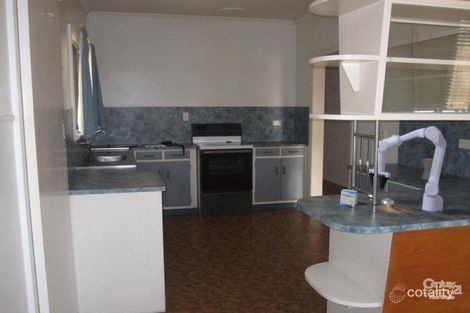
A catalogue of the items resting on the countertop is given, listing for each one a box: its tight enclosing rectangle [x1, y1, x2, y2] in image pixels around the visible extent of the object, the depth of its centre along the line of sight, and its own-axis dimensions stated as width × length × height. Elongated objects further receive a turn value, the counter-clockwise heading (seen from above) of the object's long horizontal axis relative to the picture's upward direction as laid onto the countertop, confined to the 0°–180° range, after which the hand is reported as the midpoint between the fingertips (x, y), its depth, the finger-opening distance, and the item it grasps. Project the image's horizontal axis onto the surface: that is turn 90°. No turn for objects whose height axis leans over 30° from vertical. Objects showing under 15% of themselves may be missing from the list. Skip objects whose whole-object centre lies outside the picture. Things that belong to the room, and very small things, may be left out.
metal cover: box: [380, 197, 395, 208], centre depth 211 cm, size 6×6×4 cm
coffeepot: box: [420, 155, 444, 181], centre depth 302 cm, size 15×9×18 cm, turn 70°
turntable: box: [375, 203, 414, 214], centre depth 207 cm, size 18×18×2 cm
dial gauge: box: [367, 193, 374, 207], centre depth 212 cm, size 4×4×7 cm
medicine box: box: [339, 188, 359, 209], centre depth 214 cm, size 8×4×9 cm, turn 56°
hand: (377, 188), depth 218 cm, fingers open, 5 cm apart
